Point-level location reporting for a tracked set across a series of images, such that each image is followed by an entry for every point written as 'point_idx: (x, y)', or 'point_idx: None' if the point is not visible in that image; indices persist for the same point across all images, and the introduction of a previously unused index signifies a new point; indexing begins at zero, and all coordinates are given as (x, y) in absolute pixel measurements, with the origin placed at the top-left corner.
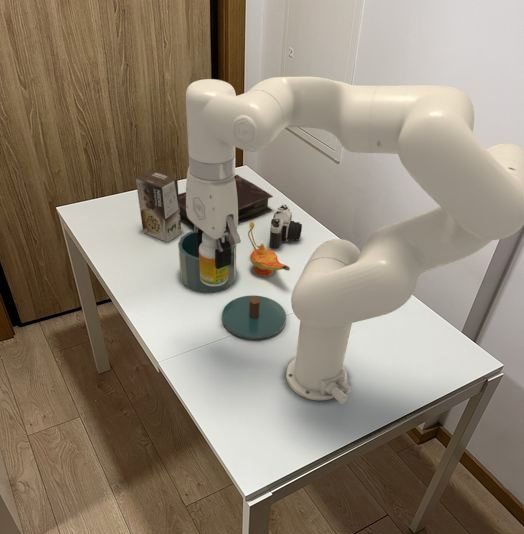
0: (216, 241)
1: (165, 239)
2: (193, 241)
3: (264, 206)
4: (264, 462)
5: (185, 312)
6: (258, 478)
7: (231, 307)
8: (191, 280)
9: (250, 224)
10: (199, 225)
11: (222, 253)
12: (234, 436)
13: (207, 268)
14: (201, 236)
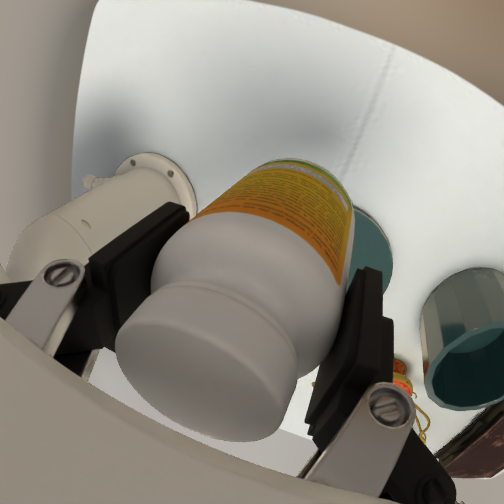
0: (50, 314)
1: None
2: None
3: (442, 458)
4: (107, 30)
5: (457, 201)
6: (99, 12)
7: (379, 262)
8: (487, 281)
9: (423, 441)
10: (84, 452)
11: (84, 267)
12: (157, 20)
13: (240, 186)
14: (336, 366)
